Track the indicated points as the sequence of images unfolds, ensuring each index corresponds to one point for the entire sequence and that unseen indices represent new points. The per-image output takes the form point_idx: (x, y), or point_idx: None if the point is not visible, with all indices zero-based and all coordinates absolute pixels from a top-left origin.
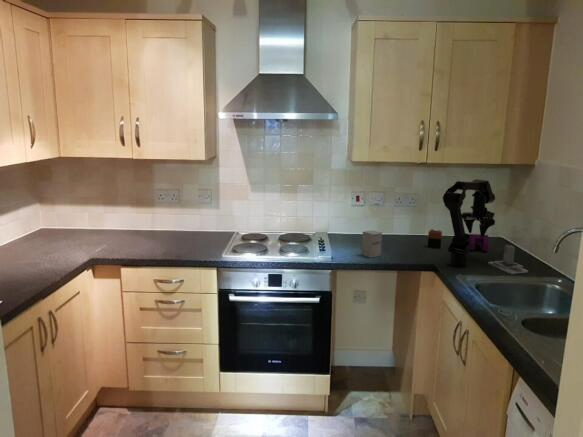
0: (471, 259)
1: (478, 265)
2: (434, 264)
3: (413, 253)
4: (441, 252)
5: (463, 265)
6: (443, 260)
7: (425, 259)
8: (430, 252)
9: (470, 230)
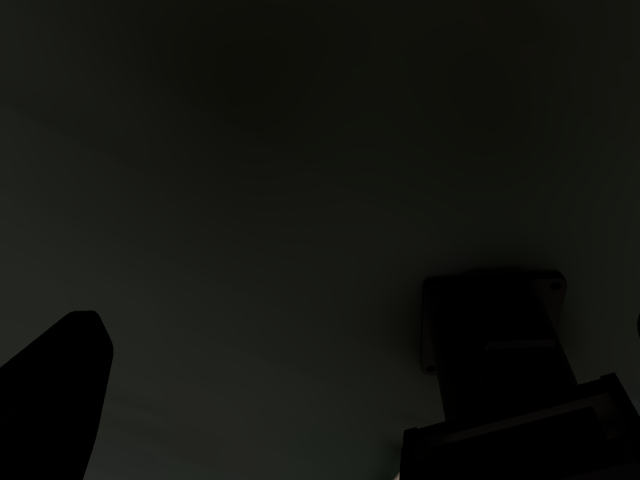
0: (330, 71)
1: (583, 134)
2: None
3: (97, 447)
4: (22, 254)
5: (550, 308)
6: (315, 353)
7: (268, 441)
8: None
9: (76, 399)
